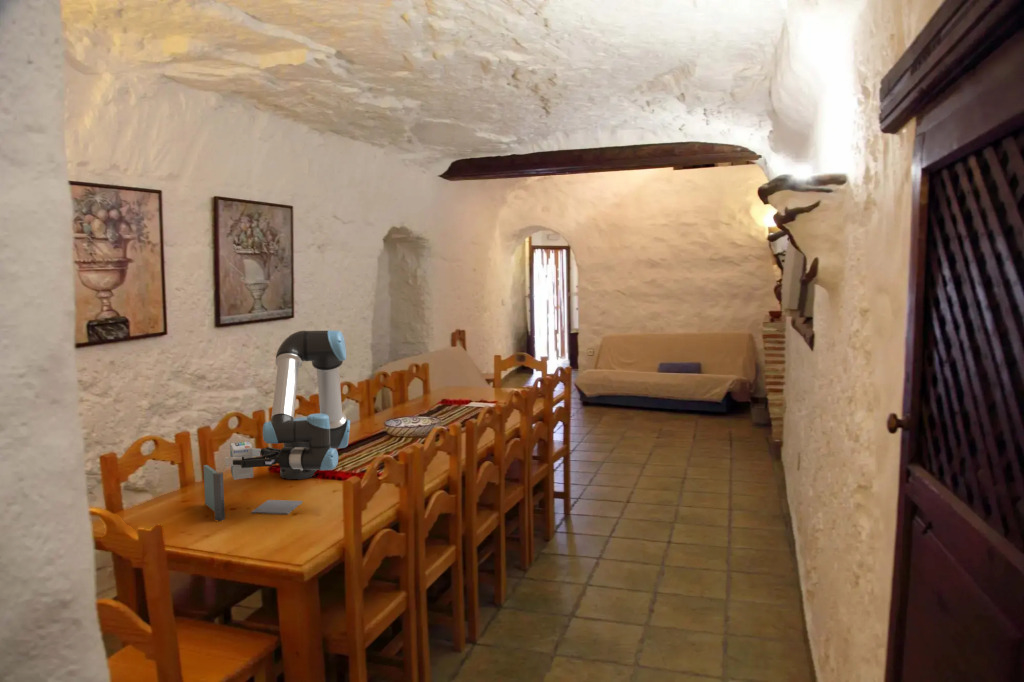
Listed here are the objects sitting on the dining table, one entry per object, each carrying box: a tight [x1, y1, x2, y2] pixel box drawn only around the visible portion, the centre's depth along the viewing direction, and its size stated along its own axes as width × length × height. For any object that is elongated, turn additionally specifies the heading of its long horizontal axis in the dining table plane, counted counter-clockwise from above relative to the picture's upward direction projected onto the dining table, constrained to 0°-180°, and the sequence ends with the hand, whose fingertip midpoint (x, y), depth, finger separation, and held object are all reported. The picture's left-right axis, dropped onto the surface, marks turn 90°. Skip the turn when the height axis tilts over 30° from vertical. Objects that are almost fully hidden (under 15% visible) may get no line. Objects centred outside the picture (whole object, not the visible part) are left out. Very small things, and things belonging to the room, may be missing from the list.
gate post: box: [213, 471, 226, 522], centre depth 239 cm, size 2×2×16 cm
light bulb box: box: [229, 441, 254, 480], centre depth 252 cm, size 11×7×11 cm, turn 27°
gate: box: [203, 464, 218, 513], centre depth 248 cm, size 18×1×14 cm, turn 39°
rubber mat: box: [251, 499, 304, 516], centre depth 252 cm, size 13×13×1 cm
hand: (234, 456), depth 252 cm, fingers closed on light bulb box, 12 cm apart
